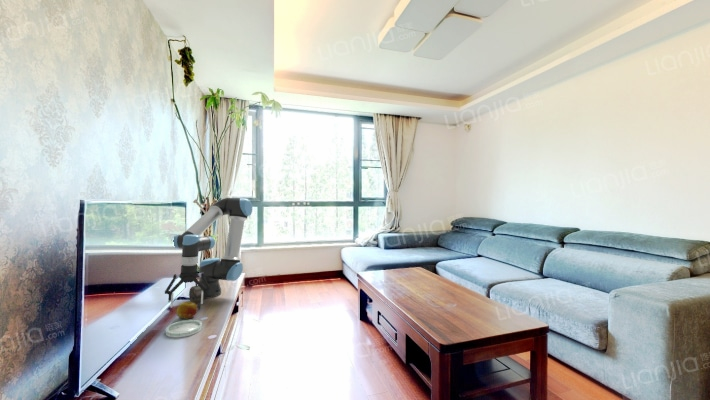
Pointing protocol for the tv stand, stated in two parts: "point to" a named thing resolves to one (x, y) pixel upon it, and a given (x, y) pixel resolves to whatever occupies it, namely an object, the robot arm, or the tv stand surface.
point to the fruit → (187, 310)
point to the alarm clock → (195, 294)
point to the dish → (183, 328)
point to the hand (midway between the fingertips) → (186, 305)
